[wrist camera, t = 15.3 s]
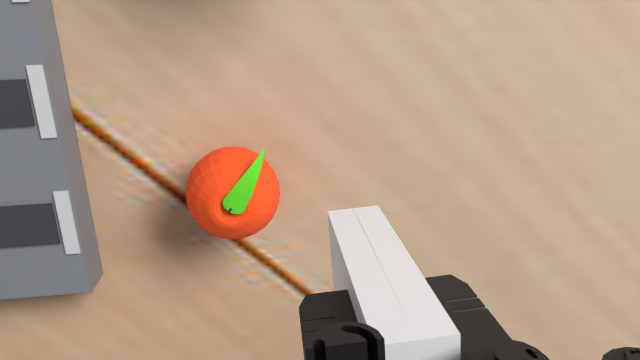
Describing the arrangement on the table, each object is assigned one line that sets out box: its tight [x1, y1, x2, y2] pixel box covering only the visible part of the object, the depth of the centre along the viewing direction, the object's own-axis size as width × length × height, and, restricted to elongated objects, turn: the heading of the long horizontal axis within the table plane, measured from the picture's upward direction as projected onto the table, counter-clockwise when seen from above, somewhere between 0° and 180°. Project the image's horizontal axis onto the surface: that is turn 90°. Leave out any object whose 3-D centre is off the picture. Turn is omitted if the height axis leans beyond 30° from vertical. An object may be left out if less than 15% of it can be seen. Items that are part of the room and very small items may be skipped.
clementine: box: [186, 147, 280, 239], centre depth 38 cm, size 8×7×7 cm
